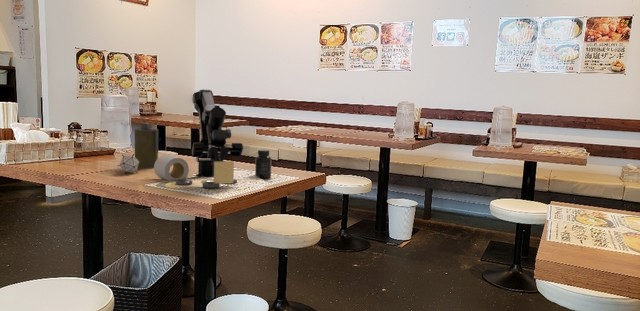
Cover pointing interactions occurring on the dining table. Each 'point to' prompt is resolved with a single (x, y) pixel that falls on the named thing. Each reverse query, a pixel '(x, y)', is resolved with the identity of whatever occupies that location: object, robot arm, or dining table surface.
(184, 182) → the tribrach plate
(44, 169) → the dining table surface
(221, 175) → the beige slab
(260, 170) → the supplement bottle
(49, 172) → the dining table surface
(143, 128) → the canister
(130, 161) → the game die
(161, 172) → the toilet paper
